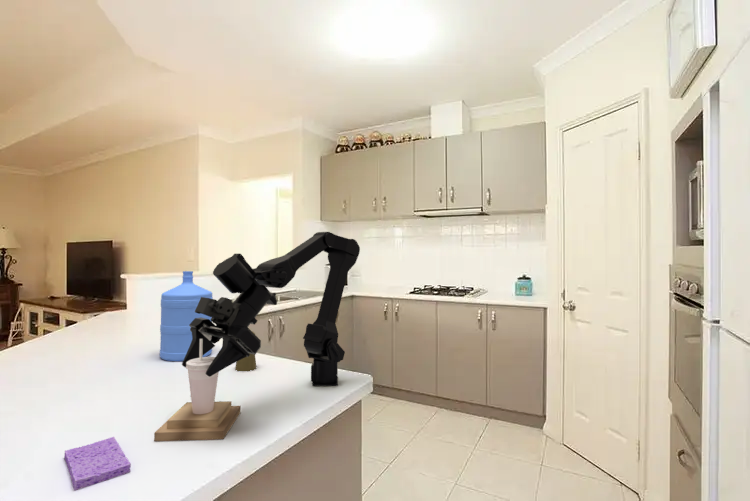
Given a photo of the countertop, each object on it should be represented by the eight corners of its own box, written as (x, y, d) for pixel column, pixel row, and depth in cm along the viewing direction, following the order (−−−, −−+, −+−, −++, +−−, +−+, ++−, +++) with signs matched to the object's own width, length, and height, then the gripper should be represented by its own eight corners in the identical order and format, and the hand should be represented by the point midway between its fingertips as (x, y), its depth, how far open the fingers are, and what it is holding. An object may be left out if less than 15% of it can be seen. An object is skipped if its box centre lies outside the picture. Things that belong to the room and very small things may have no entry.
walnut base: (240, 412, 82) (240, 398, 83) (223, 439, 71) (223, 422, 71) (182, 414, 82) (182, 399, 82) (154, 441, 70) (154, 424, 70)
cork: (250, 372, 111) (250, 333, 111) (230, 370, 112) (231, 332, 113) (260, 366, 117) (260, 329, 117) (242, 365, 118) (242, 329, 119)
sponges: (74, 494, 55) (74, 481, 55) (63, 460, 64) (63, 448, 64) (131, 475, 60) (131, 463, 60) (114, 446, 69) (114, 435, 69)
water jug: (198, 362, 121) (200, 272, 122) (149, 361, 122) (150, 272, 122) (219, 350, 137) (220, 270, 137) (175, 349, 137) (176, 270, 138)
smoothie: (185, 407, 78) (186, 336, 78) (219, 402, 80) (220, 334, 80) (184, 419, 72) (185, 343, 72) (221, 413, 74) (223, 340, 75)
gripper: (198, 280, 85) (143, 339, 76) (248, 284, 74) (189, 354, 65) (231, 312, 91) (183, 370, 83) (281, 321, 80) (231, 389, 71)
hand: (195, 370), depth 75 cm, fingers open, 9 cm apart
